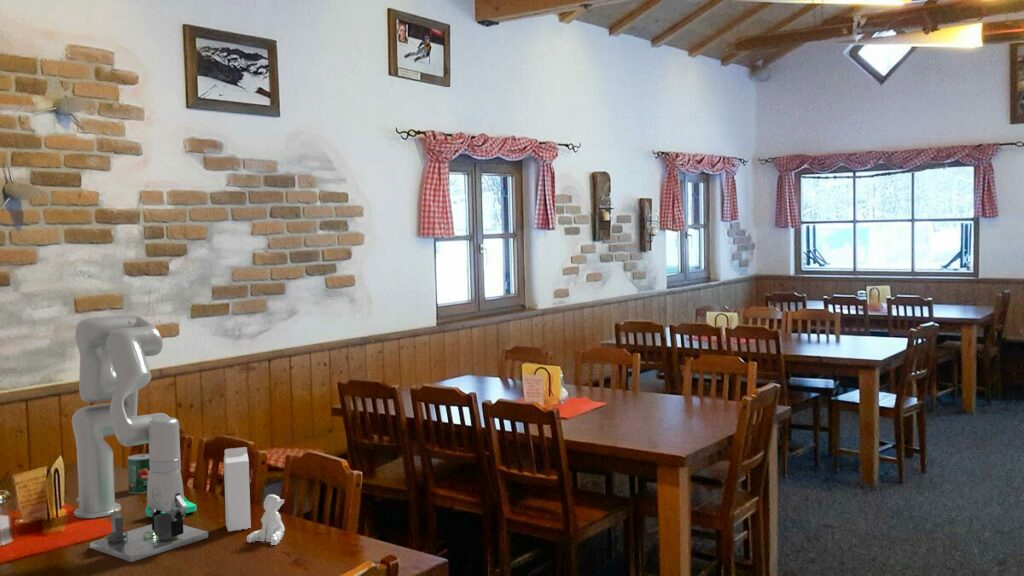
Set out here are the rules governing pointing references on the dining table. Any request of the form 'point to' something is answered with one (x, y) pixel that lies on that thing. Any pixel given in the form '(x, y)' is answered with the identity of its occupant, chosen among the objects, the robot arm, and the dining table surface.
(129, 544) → the plate
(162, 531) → the knob
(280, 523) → the sitting furry creature
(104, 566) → the dining table surface
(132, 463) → the canned tomato
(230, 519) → the milk
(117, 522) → the knob
